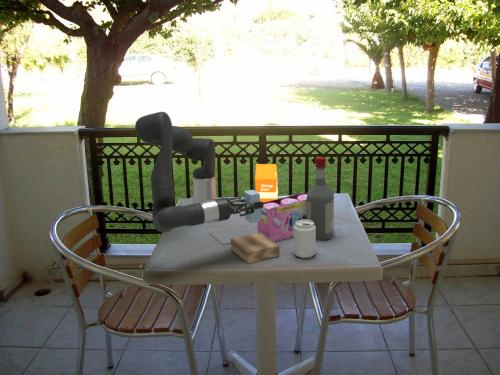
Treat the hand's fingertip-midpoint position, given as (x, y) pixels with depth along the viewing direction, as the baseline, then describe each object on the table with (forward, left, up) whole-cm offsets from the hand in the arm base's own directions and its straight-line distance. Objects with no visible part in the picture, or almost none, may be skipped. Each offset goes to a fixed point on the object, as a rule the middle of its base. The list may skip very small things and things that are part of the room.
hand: (258, 202), depth 179 cm
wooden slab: (0, -3, -18) cm, 18 cm away
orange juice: (-21, +39, -18) cm, 48 cm away
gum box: (+1, +18, -18) cm, 26 cm away
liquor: (+13, +22, -18) cm, 31 cm away
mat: (-17, +6, -18) cm, 25 cm away
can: (+16, +4, -18) cm, 24 cm away
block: (-1, -2, -6) cm, 7 cm away
